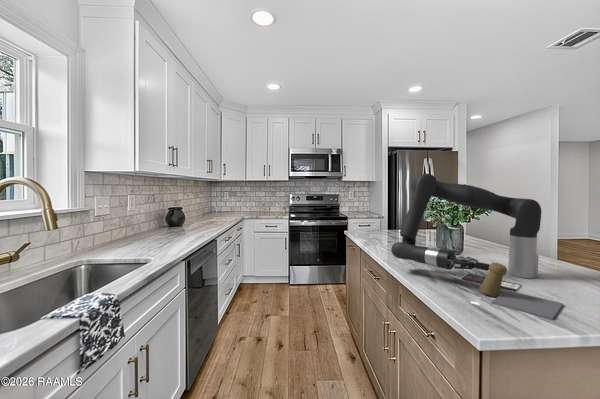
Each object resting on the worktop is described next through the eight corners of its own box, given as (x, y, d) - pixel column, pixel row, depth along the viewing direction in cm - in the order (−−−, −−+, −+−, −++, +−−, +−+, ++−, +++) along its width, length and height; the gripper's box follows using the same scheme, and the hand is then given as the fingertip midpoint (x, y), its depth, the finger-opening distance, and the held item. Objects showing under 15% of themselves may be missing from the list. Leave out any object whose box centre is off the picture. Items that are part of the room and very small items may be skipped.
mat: (491, 303, 92) (491, 301, 92) (507, 291, 102) (507, 290, 102) (552, 320, 80) (552, 317, 80) (562, 305, 90) (562, 303, 90)
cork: (502, 296, 98) (514, 268, 95) (491, 297, 96) (502, 269, 93) (486, 286, 103) (496, 259, 101) (475, 287, 101) (485, 260, 98)
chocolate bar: (469, 273, 122) (520, 284, 109) (469, 275, 122) (520, 286, 109) (461, 278, 116) (515, 290, 103) (461, 280, 116) (515, 292, 103)
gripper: (431, 251, 109) (482, 260, 95) (447, 246, 117) (495, 254, 103) (431, 270, 109) (481, 281, 95) (446, 264, 117) (495, 274, 104)
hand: (489, 267), depth 99 cm, fingers closed
